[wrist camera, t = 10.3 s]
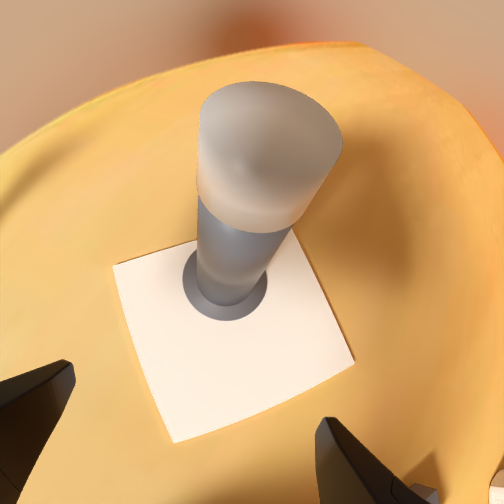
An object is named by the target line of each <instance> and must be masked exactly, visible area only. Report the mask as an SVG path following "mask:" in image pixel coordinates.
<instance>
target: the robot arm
mask: <svg viewBox="0 0 504 504" xmlns="http://www.w3.org/2000/svg"><path fill="white" fill-rule="evenodd" d="M75 383H76V378H75V373H74V367H73V364H72V363H71V362H69V361H66V360H64V359H62V360H59V361H56V362H53V363H51V364H48V365H45V366H43V367H40V368H37V369H34V370H32V371H29V372H26V373H23V374H21V375H18V376H15V377H12V378H9V379H7V380H4V381H1V382H0V504H16V503H17V501H18V499H19V497H20V493H21V492H22V490H23V488H24V485H25V483H26V481H27V479H28V477H29V475H30V473H31V471H32V469H33V467H34V465H35V463H36V461H37V459H38V457H39V455H40V454H41V452H42V450H43V448H44V446H45V444H46V442H47V441H48V439H49V437H50V435H51V433H52V431H53V430H54V428H55V426H56V424H57V423H58V421H59V419H60V417H61V415H62V413H63V411H64V409H65V406H66V404H67V402H68V400H69V397H70V395H71V393H72V391H73V388H74V386H75ZM315 461H316V477H317V483H318V490H319V497H320V504H431V503H429V502H428V501H427V500H425V499H424V498H422V497H421V496H419V495H418V494H417V493H415V492H414V491H413V490H411V489H410V488H409V487H408V486H406V485H405V484H404V483H403V482H402V481H401V480H400V479H398V478H397V477H396V476H394V474H393V473H392V472H391V471H390V470H389V469H388V468H387V467H385V466H384V465H383V464H382V463H381V462H380V461H379V460H378V459H377V458H376V457H375V456H374V455H373V454H372V453H371V452H370V451H369V450H368V449H367V448H366V447H365V446H364V445H363V444H362V443H361V442H360V441H359V440H358V439H357V438H356V437H355V436H354V435H353V434H352V433H351V432H350V431H349V430H348V429H347V428H346V427H345V426H344V425H343V424H342V423H341V422H340V421H339V420H338V419H337V418H335V417H324V418H323V419H322V421H321V423H320V425H319V426H318V428H317V430H316V433H315Z"/></svg>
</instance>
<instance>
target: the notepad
mask: <svg viewBox="0 0 504 504" xmlns="http://www.w3.org/2000/svg"><path fill="white" fill-rule="evenodd" d="M112 267H113V271H114V275H115V279H116V284H117V288H118V291H119V295H120V299H121V303H122V306H123V310H124V314H125V317H126V320H127V324H128V327H129V330H130V334H131V337H132V340H133V343H134V346H135V349H136V352H137V355H138V358H139V361H140V364H141V366H142V369H143V372H144V374H145V377H146V380H147V382H148V385H149V388H150V390H151V393H152V395H153V398H154V400H155V402H156V405H157V407H158V410H159V412H160V414H161V416H162V419H163V421H164V423H165V425H166V428H167V430H168V432H169V434H170V436H171V438H172V440H173V442H174V443H177V442H180V441H183V440H187V439H190V438H193V437H196V436H199V435H202V434H205V433H208V432H211V431H214V430H216V429H219V428H222V427H225V426H227V425H230V424H232V423H235V422H238V421H240V420H243V419H245V418H247V417H250V416H252V415H255V414H257V413H259V412H262V411H264V410H266V409H268V408H271V407H273V406H275V405H277V404H279V403H282V402H284V401H286V400H288V399H290V398H292V397H294V396H296V395H298V394H300V393H302V392H304V391H306V390H308V389H310V388H312V387H314V386H316V385H318V384H320V383H321V382H323V381H325V380H327V379H329V378H331V377H332V376H334V375H336V374H338V373H339V372H341V371H343V370H345V369H346V368H348V367H350V366H351V365H353V364H355V362H354V360H353V358H352V355H351V353H350V351H349V349H348V346H347V344H346V342H345V339H344V337H343V335H342V333H341V330H340V328H339V326H338V324H337V322H336V319H335V317H334V315H333V313H332V311H331V308H330V306H329V304H328V302H327V300H326V298H325V296H324V293H323V291H322V289H321V287H320V285H319V283H318V281H317V279H316V277H315V274H314V272H313V270H312V268H311V266H310V264H309V262H308V260H307V258H306V256H305V254H304V252H303V250H302V248H301V246H300V244H299V242H298V240H297V238H296V236H295V234H294V232H293V230H292V228H291V229H290V231H289V232H288V234H287V236H286V237H285V239H284V240H283V242H282V244H281V245H280V247H279V248H278V250H277V252H276V253H275V255H274V256H273V258H272V259H271V261H270V263H269V264H268V266H267V267H266V269H265V270H264V272H263V274H262V275H261V277H260V278H259V280H258V281H257V283H256V284H255V286H254V288H253V289H252V291H251V292H250V294H249V295H248V297H247V298H246V299H245V300H243V301H242V302H241V303H239V304H236V305H233V306H219V305H216V304H213V303H211V302H210V301H208V300H207V299H206V298H205V297H204V296H203V295H202V294H201V292H200V290H199V288H198V285H197V240H195V241H191V242H188V243H185V244H181V245H178V246H175V247H172V248H168V249H165V250H162V251H159V252H155V253H152V254H149V255H146V256H142V257H139V258H136V259H133V260H130V261H127V262H124V263H120V264H117V265H114V266H112Z"/></svg>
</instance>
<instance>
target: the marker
mask: <svg viewBox="0 0 504 504" xmlns="http://www.w3.org/2000/svg"><path fill="white" fill-rule="evenodd" d="M342 146H343V141H342V135H341V132H340V129H339V127H338V125H337V123H336V122H335V120H334V119H333V117H332V116H331V115H330V114H329V113H328V111H327V110H326V109H325V108H323V107H322V106H321V105H320V104H319V103H317V102H316V101H315V100H313V99H312V98H310V97H308V96H307V95H305V94H303V93H301V92H299V91H296V90H294V89H292V88H289V87H286V86H282V85H278V84H274V83H268V82H255V81H252V82H240V83H235V84H231V85H228V86H225V87H223V88H221V89H219V90H217V91H215V92H214V93H212V94H211V95H210V96H209V97H208V98H207V99H206V101H205V102H204V104H203V106H202V108H201V112H200V121H199V137H198V155H197V178H196V185H197V191H198V194H199V195H198V223H197V285H198V288H199V290H200V292H201V294H202V295H203V296H204V297H205V298H206V299H207V300H208V301H210V302H211V303H213V304H216V305H219V306H233V305H236V304H239V303H241V302H242V301H243V300H245V299H246V298H247V297H248V295H249V294H250V292H251V291H252V289H253V288H254V286H255V284H256V283H257V281H258V280H259V278H260V277H261V275H262V274H263V272H264V270H265V269H266V267H267V266H268V264H269V263H270V261H271V259H272V258H273V256H274V255H275V253H276V252H277V250H278V248H279V247H280V245H281V244H282V242H283V240H284V239H285V237H286V236H287V234H288V232H289V231H290V229H291V228H292V226H293V224H294V223H295V222H296V221H298V220H299V219H300V217H301V216H302V215H303V214H304V212H305V211H306V209H307V207H308V206H309V204H310V203H311V201H312V200H313V198H314V196H315V195H316V193H317V192H318V190H319V188H320V187H321V185H322V184H323V182H324V181H325V179H326V177H327V176H328V174H329V173H330V171H331V169H332V168H333V166H334V165H335V163H336V161H337V160H338V158H339V156H340V154H341V151H342Z"/></svg>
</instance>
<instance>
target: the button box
mask: <svg viewBox="0 0 504 504" xmlns="http://www.w3.org/2000/svg"><path fill="white" fill-rule="evenodd" d="M410 489H411V490H413V491H414V492H415V493H417V494H418V495H419V496H421V497H422V498H424V499H425V500H427V501H428V502H429V503H431V504H440V502H439V497H438V493H437V490H436V489H433V488H429V487H425V486H422V485H419V484H416V483H415V484H414V485H413V486H412V487H410Z"/></svg>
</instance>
